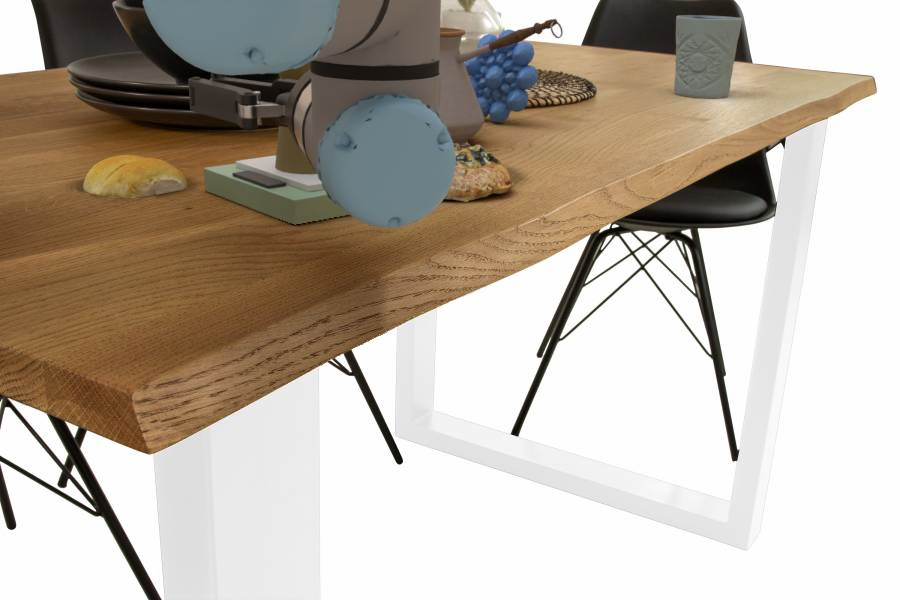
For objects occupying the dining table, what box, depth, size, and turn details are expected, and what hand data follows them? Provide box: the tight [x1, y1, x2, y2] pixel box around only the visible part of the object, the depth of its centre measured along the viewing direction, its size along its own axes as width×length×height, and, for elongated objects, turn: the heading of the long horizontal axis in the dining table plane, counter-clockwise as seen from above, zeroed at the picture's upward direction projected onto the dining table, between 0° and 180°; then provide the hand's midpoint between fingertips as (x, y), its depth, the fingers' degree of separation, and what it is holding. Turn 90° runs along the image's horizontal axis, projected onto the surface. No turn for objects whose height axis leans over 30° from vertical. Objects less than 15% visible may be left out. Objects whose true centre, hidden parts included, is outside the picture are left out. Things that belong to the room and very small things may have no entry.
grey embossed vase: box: [673, 14, 743, 99], centre depth 159 cm, size 10×10×12 cm
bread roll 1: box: [82, 154, 188, 199], centre depth 90 cm, size 8×9×4 cm
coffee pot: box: [439, 18, 564, 146], centre depth 114 cm, size 21×12×15 cm, turn 57°
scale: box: [203, 154, 350, 226], centre depth 92 cm, size 13×15×3 cm
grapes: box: [464, 29, 539, 124], centre depth 131 cm, size 12×7×12 cm, turn 52°
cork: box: [275, 62, 317, 174], centre depth 90 cm, size 6×6×11 cm
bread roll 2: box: [443, 143, 515, 203], centre depth 96 cm, size 11×11×5 cm
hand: (305, 79), depth 88 cm, fingers open, 13 cm apart
